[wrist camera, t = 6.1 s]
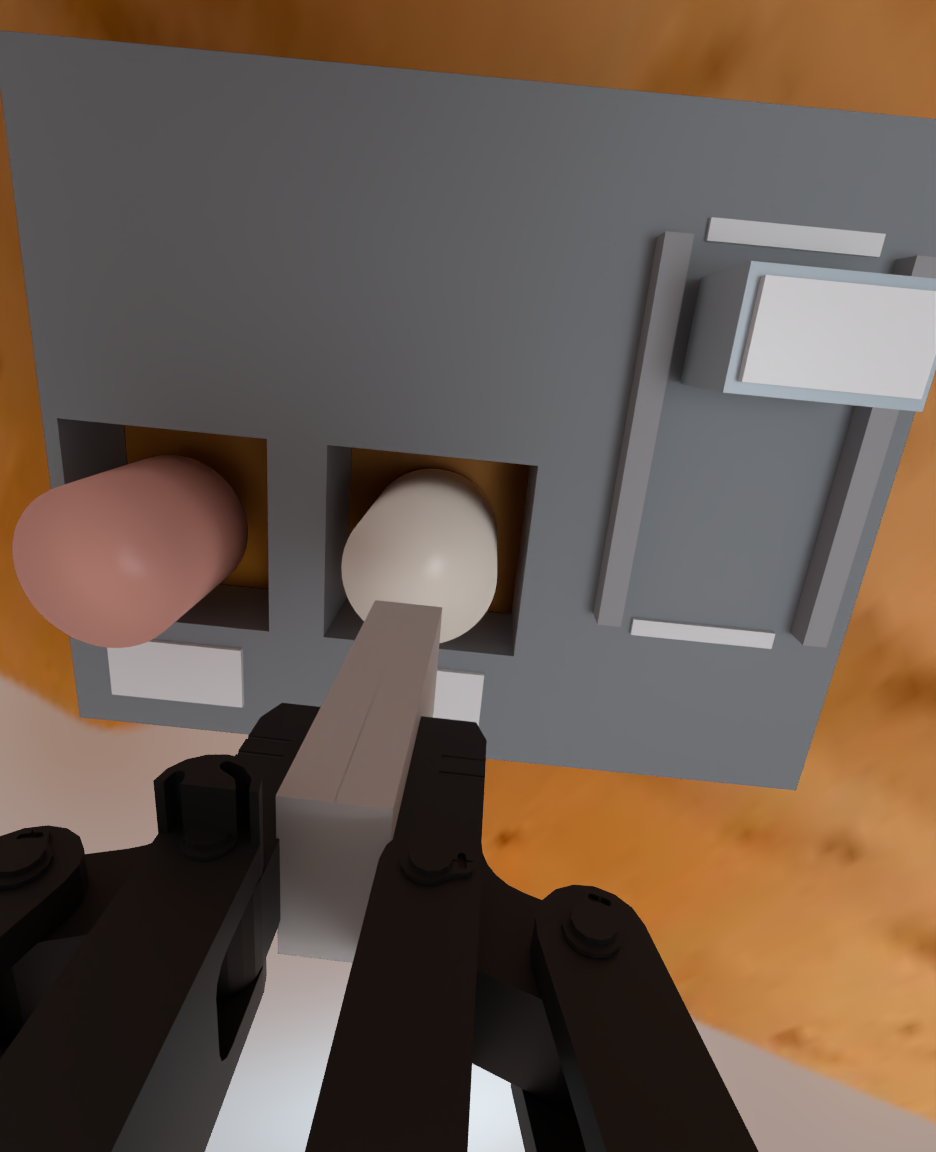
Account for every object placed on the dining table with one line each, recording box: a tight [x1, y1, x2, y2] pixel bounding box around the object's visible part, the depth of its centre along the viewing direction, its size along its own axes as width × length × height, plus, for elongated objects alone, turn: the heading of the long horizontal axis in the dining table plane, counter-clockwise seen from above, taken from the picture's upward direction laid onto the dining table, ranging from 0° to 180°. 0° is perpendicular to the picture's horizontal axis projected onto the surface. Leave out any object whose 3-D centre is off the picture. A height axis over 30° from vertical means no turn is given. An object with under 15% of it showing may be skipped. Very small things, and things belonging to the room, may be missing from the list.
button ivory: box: [341, 469, 497, 643], centre depth 23 cm, size 5×5×5 cm
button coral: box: [12, 455, 248, 648], centre depth 21 cm, size 5×5×5 cm
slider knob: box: [680, 261, 936, 412], centre depth 18 cm, size 3×5×4 cm, turn 85°
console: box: [0, 30, 936, 790], centre depth 23 cm, size 22×28×5 cm
